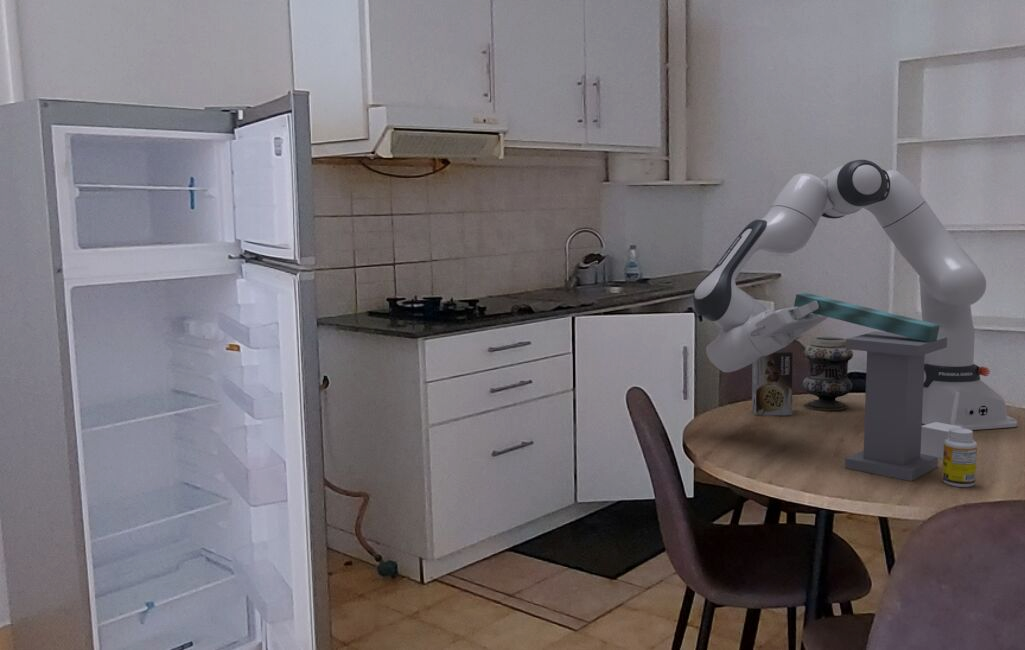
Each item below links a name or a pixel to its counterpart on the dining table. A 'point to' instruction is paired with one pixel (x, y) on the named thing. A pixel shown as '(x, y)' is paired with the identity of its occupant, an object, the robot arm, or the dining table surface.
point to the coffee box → (773, 384)
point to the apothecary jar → (828, 372)
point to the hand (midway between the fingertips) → (824, 302)
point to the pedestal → (893, 405)
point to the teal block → (871, 318)
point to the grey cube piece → (934, 438)
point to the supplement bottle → (959, 458)
